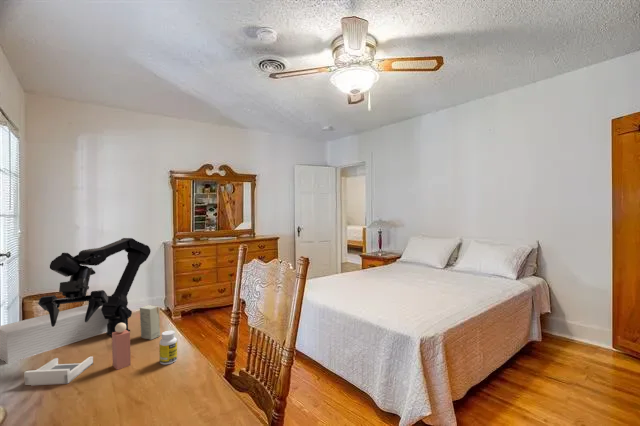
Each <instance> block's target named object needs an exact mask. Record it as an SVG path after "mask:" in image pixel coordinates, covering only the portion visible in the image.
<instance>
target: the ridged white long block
mask: <svg viewBox="0 0 640 426" xmlns="http://www.w3.org/2000/svg"><path fill="white" fill-rule="evenodd" d="M88 305H89V304H86V305H82V306H77V307H74V308H69V309H65V310H61V311H60V310H59V314H58V317H57V320H56V324H55V326H54V327H52V326H51V320H50V315H49V313H48V314H45V315H41V316H36V317H31V318H27V319H24V320H19V321H14V322H10V323H7V324H3V325H0V360H1V361H3V360H4V361H5V362H4V361H3V362H4V363H6V362H7V363H9V362H12V363H14V362H13V361H15V362H17V361H16V360H18V361H21V360H24V359H27V358H30V357H33V356H35V355H39V354H43V353H46V352H49V351H52V350H56V349H58V348H62V347H65V346H68V345H71V344H75V343H78V342H80V341H83V340H86V339H90V338H92V337H95V336H99V335H102V334H105V333H106V332H107V324H108V319H105V318H104V315H103V314H102V311H101V309H102V306H100V307H99V308H98V309H97V310H96V311H95V312H94V313H93V315H92V316H91V317H90V319H89V320H88V321H87V322H85V316H86V312H87V309H88ZM23 358H24V359H23ZM20 359H21V360H20ZM7 363H6V364H7ZM9 364H10V363H9Z"/></svg>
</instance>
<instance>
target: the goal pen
mask: <svg viewBox="0 0 640 426" xmlns="http://www.w3.org/2000/svg"><path fill="white" fill-rule="evenodd" d="M93 365H94V356H89V357H87V358H86V359H84V360H83V361H82V362H75V363H74V362H73V363H59V358H58V357H54V358H53V359H51V360H49V361H48V362H46V363H45V364H44V365H42V366H40V367H38V368H37V369H36V370H35V369H34V370H26V371H24V372H23V374H24V375H23V377H24V386H25V385H31V386H44V385H46V386H47V385H50V386H51V385H66V384H69V383H70V382H72V381H73V380H74V379H75V378H77V377H78V376H80V374H82V373H84V371H86V370H87V369H88V368H90V367H91V366H93Z"/></svg>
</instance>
